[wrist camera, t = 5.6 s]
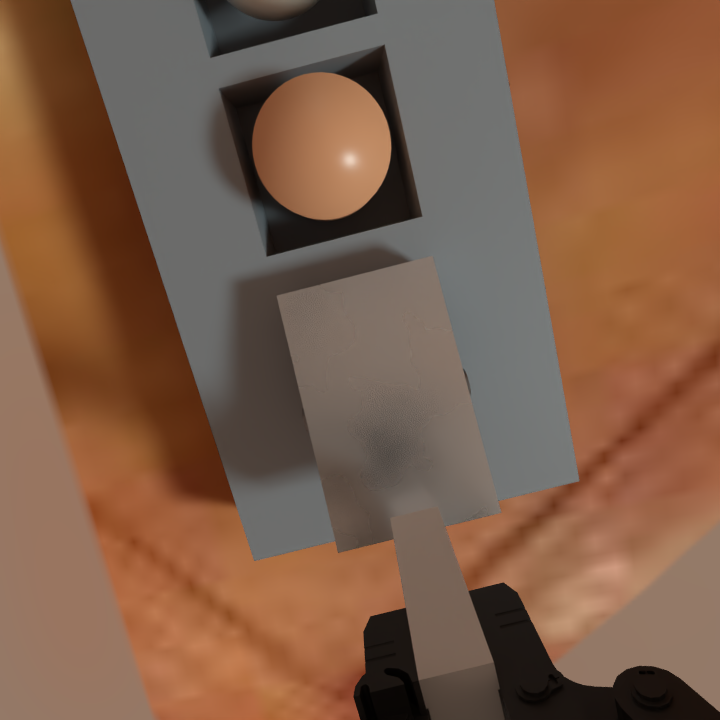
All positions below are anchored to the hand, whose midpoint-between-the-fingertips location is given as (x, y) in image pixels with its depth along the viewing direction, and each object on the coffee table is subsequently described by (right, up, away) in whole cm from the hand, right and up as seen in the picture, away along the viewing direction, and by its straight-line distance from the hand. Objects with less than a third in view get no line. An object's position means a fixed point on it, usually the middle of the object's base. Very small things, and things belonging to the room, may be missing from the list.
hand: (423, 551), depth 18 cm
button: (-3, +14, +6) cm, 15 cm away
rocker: (-1, +4, +3) cm, 5 cm away
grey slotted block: (-3, +12, +8) cm, 15 cm away
